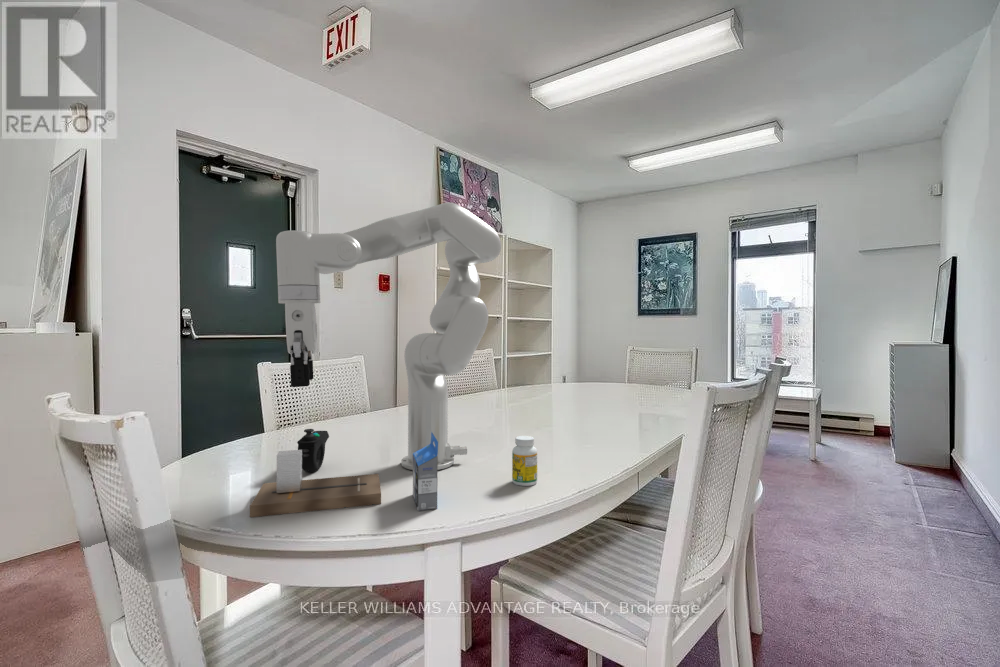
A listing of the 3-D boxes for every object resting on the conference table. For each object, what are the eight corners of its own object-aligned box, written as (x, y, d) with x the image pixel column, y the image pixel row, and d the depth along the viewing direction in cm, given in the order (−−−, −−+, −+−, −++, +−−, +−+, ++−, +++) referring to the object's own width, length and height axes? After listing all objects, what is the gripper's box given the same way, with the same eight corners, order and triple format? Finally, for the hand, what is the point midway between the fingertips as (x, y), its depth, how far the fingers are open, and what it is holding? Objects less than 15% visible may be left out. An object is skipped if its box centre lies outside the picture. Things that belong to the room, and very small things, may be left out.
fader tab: (302, 485, 89) (302, 449, 89) (300, 491, 86) (300, 453, 86) (279, 487, 88) (279, 451, 88) (276, 493, 85) (276, 455, 85)
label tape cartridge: (411, 494, 91) (412, 432, 91) (431, 492, 92) (431, 431, 92) (417, 511, 83) (417, 443, 83) (438, 509, 84) (439, 441, 84)
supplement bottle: (541, 484, 97) (542, 439, 97) (519, 488, 95) (519, 441, 95) (529, 477, 102) (529, 433, 102) (507, 480, 100) (508, 436, 100)
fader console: (378, 483, 98) (378, 473, 98) (381, 503, 86) (381, 492, 86) (263, 493, 91) (263, 482, 91) (249, 517, 80) (249, 505, 80)
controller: (294, 478, 101) (294, 432, 100) (312, 461, 113) (313, 421, 113) (314, 477, 101) (314, 432, 101) (330, 461, 113) (331, 421, 113)
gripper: (317, 293, 83) (320, 387, 84) (322, 297, 99) (325, 376, 100) (271, 293, 81) (275, 390, 81) (284, 298, 97) (287, 378, 98)
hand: (302, 383), depth 91 cm, fingers open, 9 cm apart
